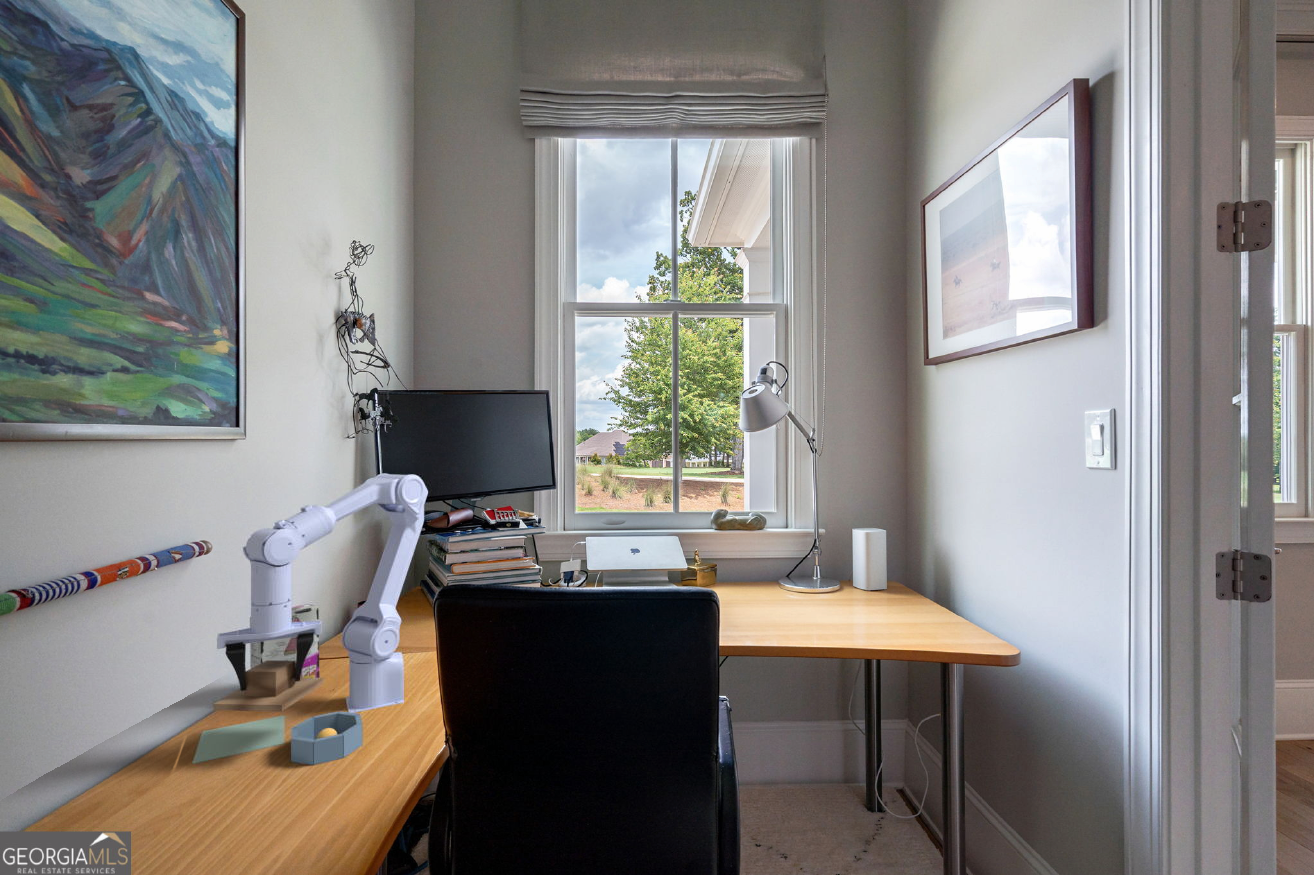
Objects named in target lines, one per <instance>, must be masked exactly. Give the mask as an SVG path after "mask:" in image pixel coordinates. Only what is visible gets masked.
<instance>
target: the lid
mask: <svg viewBox="0 0 1314 875" xmlns="http://www.w3.org/2000/svg"><path fill="white" fill-rule="evenodd" d="M322 685H324V677H320V678H300V681H296V682H295V661H274V660H267V661H265V662H263V663H261V664H259V665H257V666H255V667H253V668H251V667H250V668H249V669H248V670H246V690H245V691H241V690H240V688H239V689H237V690H235V691H234V692H232V693H230V694H229V695H227V696H225V697H223V698H222V699H220V700H218V701H216V702H214V703H213V706H212V708H213V711H230V712H231V711H232V712H233V711H234V712H235V711H237V712H238V711H240V712H244V711H245V712H284V711H285V710H286V709H288V708H289V707H290V706H292V705H294V704H296V702H298V701H300V700H301V699H303V698H304V697H305V696H307V695H309V693H311V692H313V691H314V690H316V689H317V688H319V687H320V686H322Z"/></svg>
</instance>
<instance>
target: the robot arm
mask: <svg viewBox="0 0 1314 875" xmlns="http://www.w3.org/2000/svg"><path fill="white" fill-rule="evenodd" d="M428 494H429V491H428V488H427V486H426V485H425V482H424V480H423V479H422V478H421V477H420V476H419V475H416V474H391V473H390V474H389V473H380V474H378V475H376V476H375V477H371V478H368V479H366V480H365V482H363V483H362V484H360V485H358V486H357V487H355V488H354V489H352V490H350V491H349V492H346V493H345V494H344V495H342V496H340V497H338V498H337V499H335V500H334V501H332V502H330V503H329V504H327V505H325V506H322V505H319V504H313V505H311V504H310V505H309V504H307V505H303V506H302V507H300V512H298V513H296V514H294V515H292V516H290V517H288V518H286V519H284V520H283V519H280V520H277V521H275V522H274V526H273V527H272V528H269V527H266V528H265V527H264V528H260V529H258V530H256V531H254V532H253V533H252V534H251V535H250V537H249V538H248V539H247V541H246V544H245V546H243V547H242V552H243V555H244V556H245V558H246V560H248V561H249V562H250V617H251V628H250V627H247V628H243V629H242V628H241V629H239V630H234V631H228V632H222V633H217V638H216V639H217V640H216V649H217V650H218V649H219V650H220V649H225V655H226V657H227V659H228V660H229V662H230V664H231V666H232V668H233V669H234V672H235V674H236V678H237V679H238V682H239V687H240V688H239V689H240V690H241V691H245V690H246V671H247V670H246V650H247V649H246V648H247V644H250V643H255V642H262V641H269V640H276V639H283V638H290V637H297V657H296V668H295V682H296V681H300V676H301V671H302V667H303V664H304V661H305V659H306V656H307V654H308V652H309V650H310V648H311V646H312V644H313V641H314V635H319V636H320V635H322V630H323V628H322V624H323V623H322V620H319V621H308V622H292V607H293V606H292V604H293V602H292V600H293V598H292V596H293V595H292V592H293V588H292V587H293V586H292V585H293V583H292V580H293V578H292V576H293V574H292V573H293V572H292V570H293V569H292V568H293V566H292V565H293V564H292V562H294V561H295V560H296V558H297V557H298V555H299V553H300V551H301V550H303V549H305V548H307V547H308V546H310V545H312V544H313V543H315V542H318V540H320V539H322V538H325V536H327V535H329V534H331V533H332V532H333V531H334V528H335V524H336V523H337V522H339V521H341V520H342V519H343V520H344V519H345V518H346V517H349V516H351V515H353V514H355V513H357V512H359V511H361V510H363V509H365V508H367V507H368V506H371V505H373V504H376V505H377V506H378V507H379V509H381V510H382V511H383V512H384V513H385V514H386V515H388V517H389V519H390V521H391V522H392V527H391V528H390V532H389V535H388V538H387V540H386V543H385V547H384V550H383V552H382V556H381V558H380V561H379V564H378V566H377V570H376V572H375V575H374V578H373V581H372V584H371V587H370V590H369V592H368V595H367V598H366V601H365V602H364V603H363V604H362V605H360V606H359V607H358V608H356V609H355V610H354V612H353V614H352V617H351V619H350V620H349V621H348V622H347V624H345V626H344V628H343V630H342V633H341V638H340V639H341V640H340V641H341V645H342V647H343V648H344V649H345V650H347V651H348V652H347V653H348V654H347V657H349V658H348V659H349V667H348V669H349V673H348V674H349V676H348V677H349V680H348V681H349V683H348V684H349V692H348V693H349V696H348V697H345V702H346V703H345V704H346V707H347V712H349V713H359V712H364V711H365V712H366V711H369V710H374V709H379V708H384V707H385V708H386V707H390V706H394V705H399V704H404V703H405V700H404V698H405V697H404V696H405V695H404V693H405V692H404V690H405V678H404V676H405V675H404V674H405V673H404V672H405V669H404V657H403V654H402V652H400V651H398V652H397V651H396V649H397V648H398V646H399V644H400V627H401V623H402V618H401V617H400V615H399V613H398V611H397V607H396V606H397V605H398V601H399V598H400V595H401V592H402V590H403V585H404V583H405V580H406V577H407V574H408V571H409V568H410V564H411V561H412V558H413V556H414V554H415V553H414V552H415V550H416V547H417V543H418V540H419V538H420V535H421V532H422V528H423V525H424V522H425V503H426V500H427V497H428Z"/></svg>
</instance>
